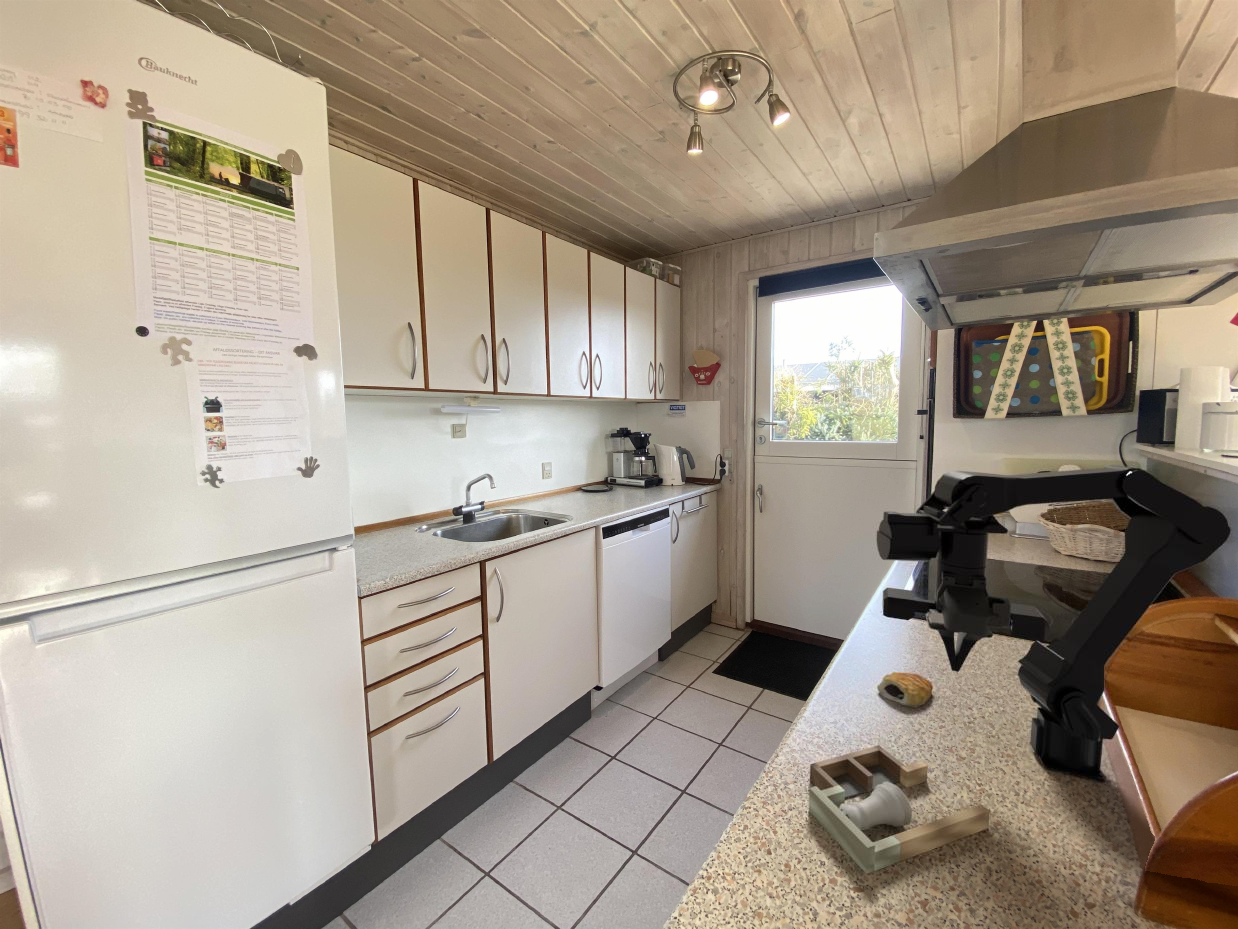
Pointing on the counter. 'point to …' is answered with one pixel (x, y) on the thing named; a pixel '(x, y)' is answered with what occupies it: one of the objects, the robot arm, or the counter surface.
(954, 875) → the counter surface
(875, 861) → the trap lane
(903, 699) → the pastry
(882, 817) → the rook chess piece
